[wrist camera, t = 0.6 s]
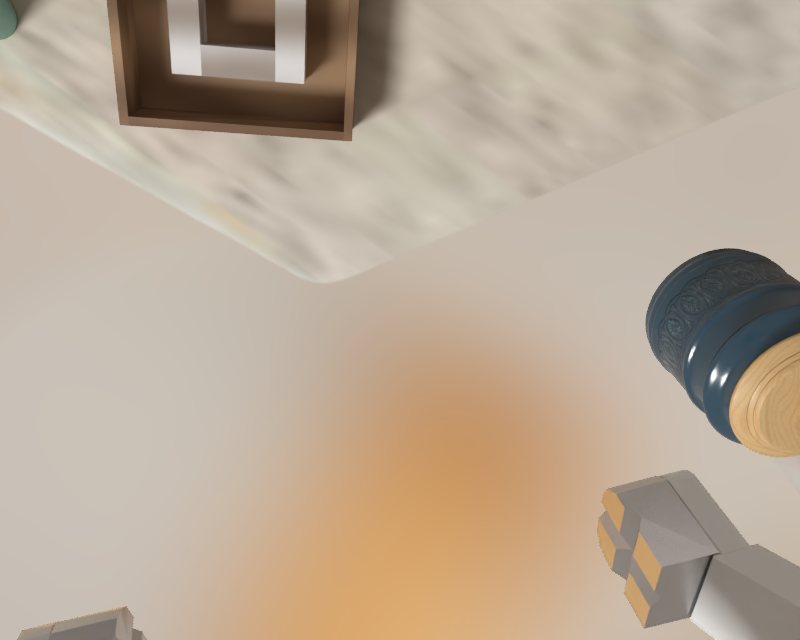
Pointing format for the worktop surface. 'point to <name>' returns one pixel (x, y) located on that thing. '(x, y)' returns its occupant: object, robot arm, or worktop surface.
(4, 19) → the peg
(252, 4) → the box
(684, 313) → the canister
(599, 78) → the worktop surface
